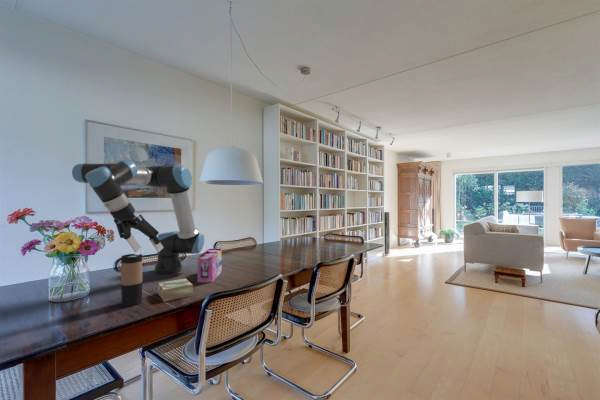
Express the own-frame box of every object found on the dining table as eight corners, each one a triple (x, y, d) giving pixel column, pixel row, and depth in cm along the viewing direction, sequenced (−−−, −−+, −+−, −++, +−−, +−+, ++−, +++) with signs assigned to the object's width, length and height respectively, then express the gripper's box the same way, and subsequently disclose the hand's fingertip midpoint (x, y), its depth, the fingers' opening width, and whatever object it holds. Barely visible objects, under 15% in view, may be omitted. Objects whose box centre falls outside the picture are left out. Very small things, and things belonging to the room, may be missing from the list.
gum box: (211, 283, 144) (211, 257, 144) (196, 283, 144) (196, 257, 143) (222, 271, 168) (222, 248, 168) (208, 271, 167) (208, 248, 167)
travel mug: (122, 308, 112) (122, 258, 111) (119, 302, 117) (119, 255, 117) (144, 303, 117) (144, 255, 116) (140, 298, 122) (140, 252, 122)
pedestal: (158, 293, 128) (158, 282, 128) (185, 288, 136) (185, 277, 136) (163, 301, 119) (163, 289, 119) (192, 295, 126) (192, 284, 126)
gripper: (90, 214, 108) (122, 255, 117) (133, 210, 97) (164, 256, 107) (107, 203, 114) (136, 244, 123) (149, 199, 103) (177, 243, 113)
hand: (149, 249), depth 115 cm, fingers open, 13 cm apart
